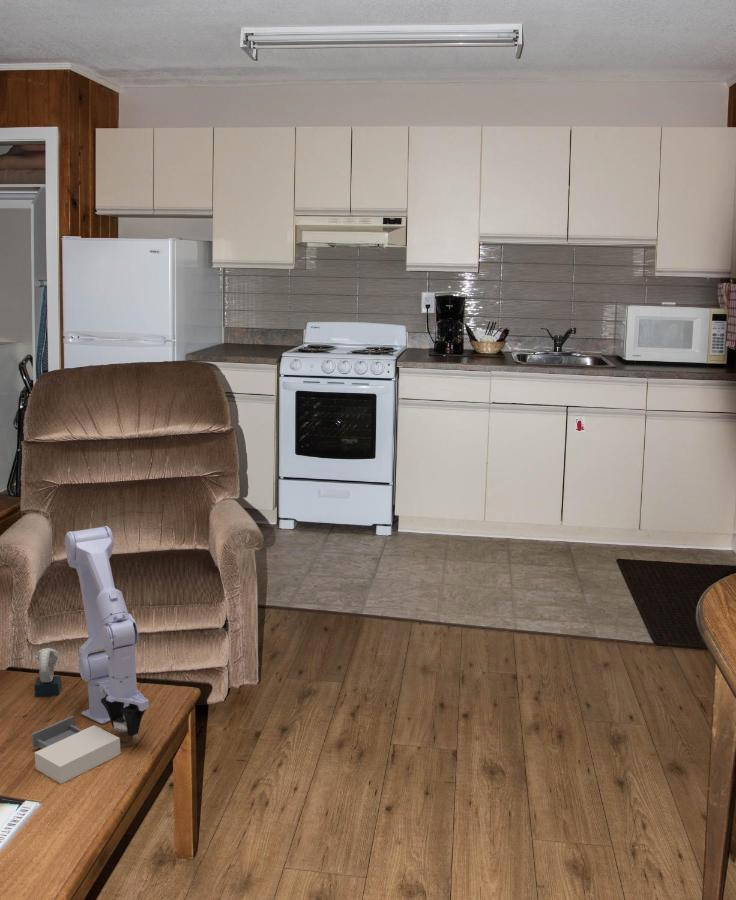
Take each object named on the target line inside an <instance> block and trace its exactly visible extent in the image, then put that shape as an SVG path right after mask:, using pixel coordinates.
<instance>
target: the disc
mask: <svg viewBox="0 0 736 900" xmlns="http://www.w3.org/2000/svg"><path fill="white" fill-rule="evenodd" d="M113 725H114V728H113V730H114V731H115V732H118V733H119V732H128V730H127V723H126V719H125V716H124V715H123V716H120V717H118V718H116V719H115V720H114V721H113Z"/></svg>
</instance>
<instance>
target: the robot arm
mask: <svg viewBox="0 0 736 900" xmlns="http://www.w3.org/2000/svg"><path fill="white" fill-rule="evenodd" d="M114 544H115V542H114V535H113V531H112V529H111V528H110V527H109V526H107V525H103V526H99V527H94V528H88V529H81V530H75V531H71V530H70V531H67V532H66V534H65V536H64V549H65V554H66V559H67V560H66V561H67V564H68V567H70V568H72V569H76V572H77V575H78V578H79V579H78V581H79V585H80V591H81V592H80V593H81V598H82V605H83V606H82V607H83V610H84V619H85V623H86V630H87V635H88V638H87V639H86V641H84V643H83V644H82V645H81V646H80V648H79V649H78V652H77V655H78V669H79V674H80V678H81V679H82V680H83V681H84V682H86V683H87V693H88V694H87V695H88V709H86V710H84V711H82V712H81V715H82V716H84V717H86V718H89V719H90V720H92V721H94V722H96V723H99V724H100V725H104V724H107V723H109V722H111V725H112V727H113V728H112V729H114V725H113V721H114V720H115V719H116V718H118V717H120V716H125V719H126V723H127V730H128V734H129V736H133V735H135V734H137V735H138V734H139V731H140V730H139V729H140V726H141V722H142V718H143V716H144V714H145V712H146V710H148V709H149V708H150V705H149V699H147V698H146V697H145V696H144V695H143V694H142V693H141V691H140V690H139V689H138V687H137V686H138V685H137V666H136V664H137V663H136V644H138V642H139V629H138V625H137V622H136V620H135V618H133V616H132V614H131V613H129V611H128V608H127V605H126V601H125V599H124V595H123V592H122V591H121V590H119V589H117V588H116V587H115V582H114V577H113V572H112V567H111V563H110V558H111V557H112V555H113V549H114V546H115V545H114ZM103 649H104V650H103Z"/></svg>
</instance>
